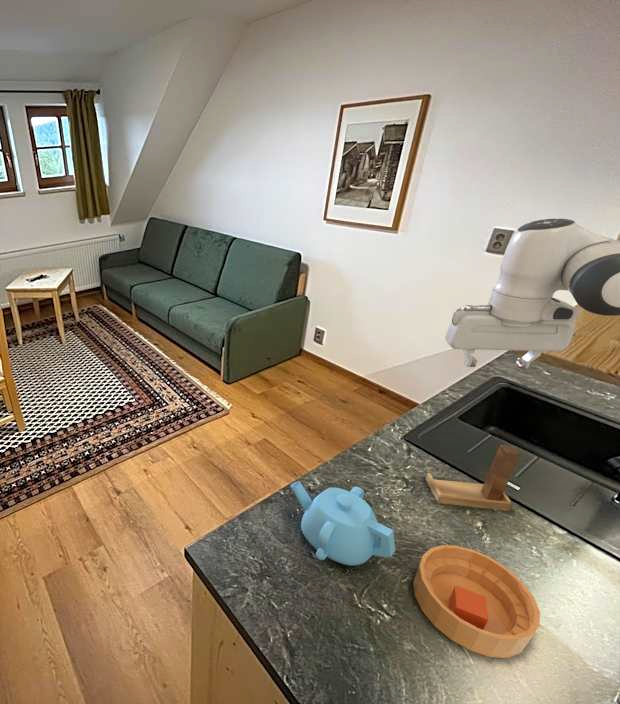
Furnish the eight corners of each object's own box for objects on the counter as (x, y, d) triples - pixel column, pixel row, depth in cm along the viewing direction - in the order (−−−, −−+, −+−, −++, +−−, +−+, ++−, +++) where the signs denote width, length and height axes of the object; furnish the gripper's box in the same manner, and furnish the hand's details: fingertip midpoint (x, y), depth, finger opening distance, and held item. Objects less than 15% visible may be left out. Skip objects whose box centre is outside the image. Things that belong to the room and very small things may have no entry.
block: (448, 599, 67) (455, 585, 66) (478, 611, 65) (485, 596, 64) (449, 621, 64) (456, 607, 63) (480, 634, 62) (488, 620, 61)
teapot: (404, 544, 77) (418, 501, 72) (368, 606, 68) (381, 562, 62) (307, 490, 91) (312, 450, 86) (266, 535, 81) (269, 494, 76)
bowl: (463, 556, 74) (472, 536, 72) (553, 643, 61) (567, 622, 59) (392, 576, 72) (398, 557, 69) (469, 672, 59) (480, 652, 56)
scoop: (424, 480, 91) (440, 433, 84) (491, 486, 88) (512, 438, 81) (437, 504, 85) (454, 456, 78) (509, 512, 82) (533, 462, 75)
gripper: (463, 311, 78) (445, 371, 84) (591, 311, 73) (561, 376, 80) (449, 299, 84) (433, 357, 90) (567, 299, 79) (542, 360, 85)
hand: (494, 366), depth 85 cm, fingers open, 8 cm apart
